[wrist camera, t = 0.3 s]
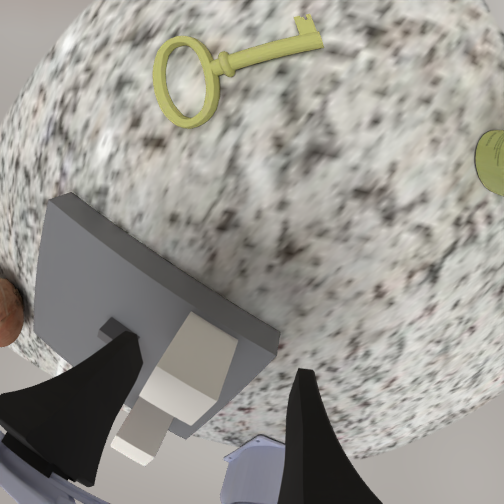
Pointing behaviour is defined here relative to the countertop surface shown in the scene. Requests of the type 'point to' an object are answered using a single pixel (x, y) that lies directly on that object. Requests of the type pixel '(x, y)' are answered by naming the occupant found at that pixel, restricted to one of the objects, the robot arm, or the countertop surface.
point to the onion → (10, 313)
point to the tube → (491, 161)
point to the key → (225, 67)
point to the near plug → (191, 370)
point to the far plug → (142, 432)
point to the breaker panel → (131, 301)
